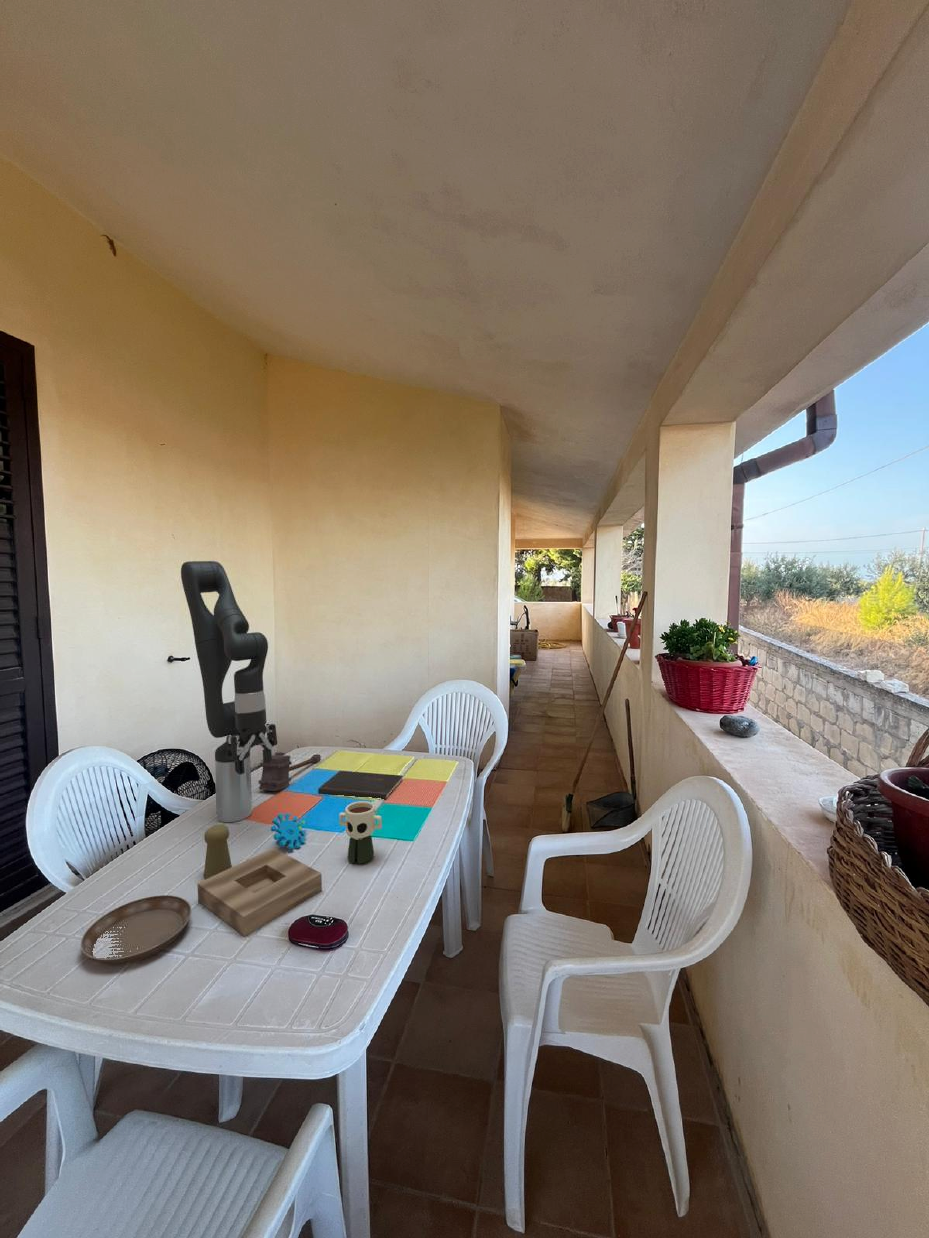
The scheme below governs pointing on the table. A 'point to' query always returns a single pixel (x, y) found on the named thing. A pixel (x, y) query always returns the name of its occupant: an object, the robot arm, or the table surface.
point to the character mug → (360, 829)
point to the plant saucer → (139, 928)
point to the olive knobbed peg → (216, 851)
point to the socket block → (259, 890)
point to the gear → (288, 831)
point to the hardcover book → (360, 784)
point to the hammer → (280, 772)
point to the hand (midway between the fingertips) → (254, 768)
